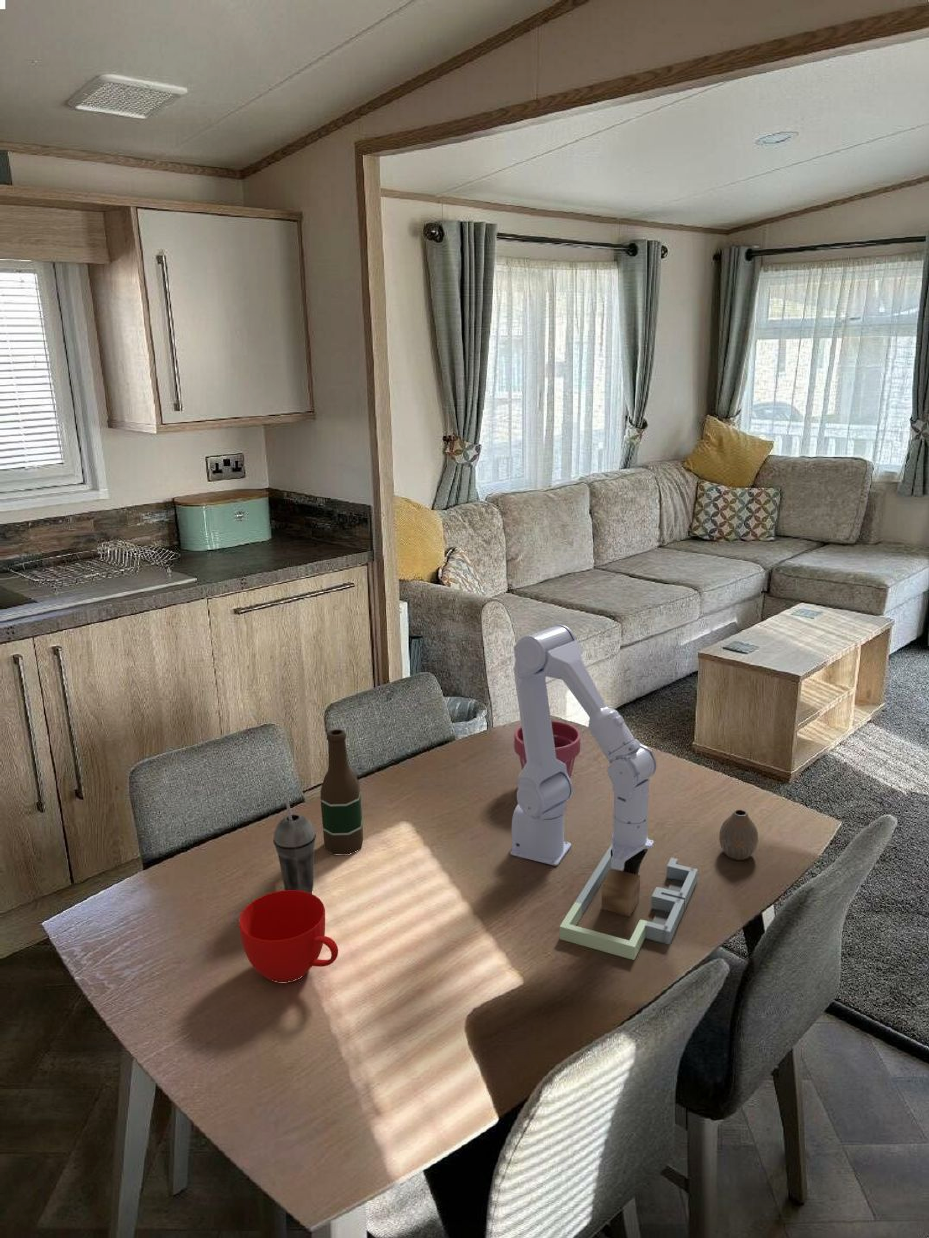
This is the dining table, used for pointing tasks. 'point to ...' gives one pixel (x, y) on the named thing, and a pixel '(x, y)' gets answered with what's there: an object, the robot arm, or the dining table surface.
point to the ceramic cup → (285, 934)
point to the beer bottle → (340, 800)
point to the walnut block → (620, 892)
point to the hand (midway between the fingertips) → (628, 884)
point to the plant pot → (564, 744)
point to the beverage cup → (295, 851)
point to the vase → (738, 836)
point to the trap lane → (659, 929)
